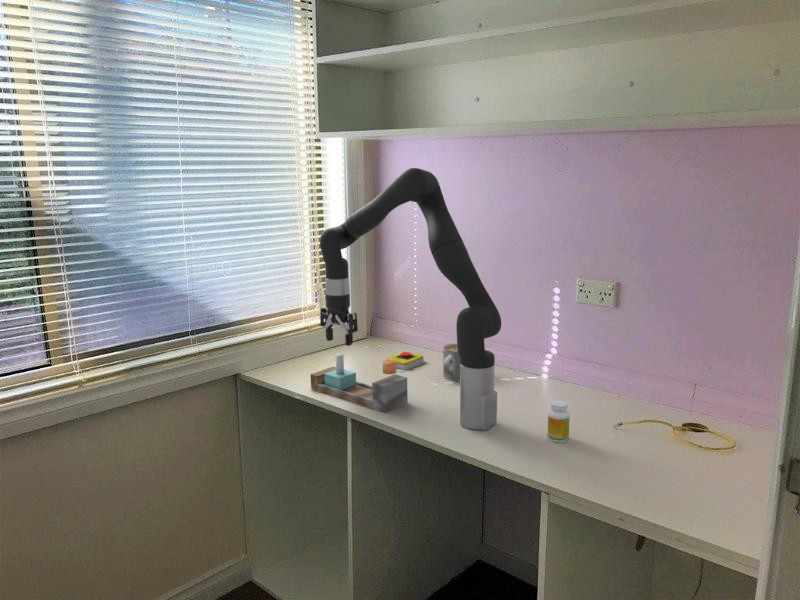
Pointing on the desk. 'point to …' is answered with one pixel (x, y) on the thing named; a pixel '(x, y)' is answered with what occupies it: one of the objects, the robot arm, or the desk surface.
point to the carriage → (340, 375)
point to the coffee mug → (451, 362)
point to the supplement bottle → (558, 422)
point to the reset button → (389, 367)
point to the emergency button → (406, 361)
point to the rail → (367, 391)
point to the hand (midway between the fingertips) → (339, 342)
